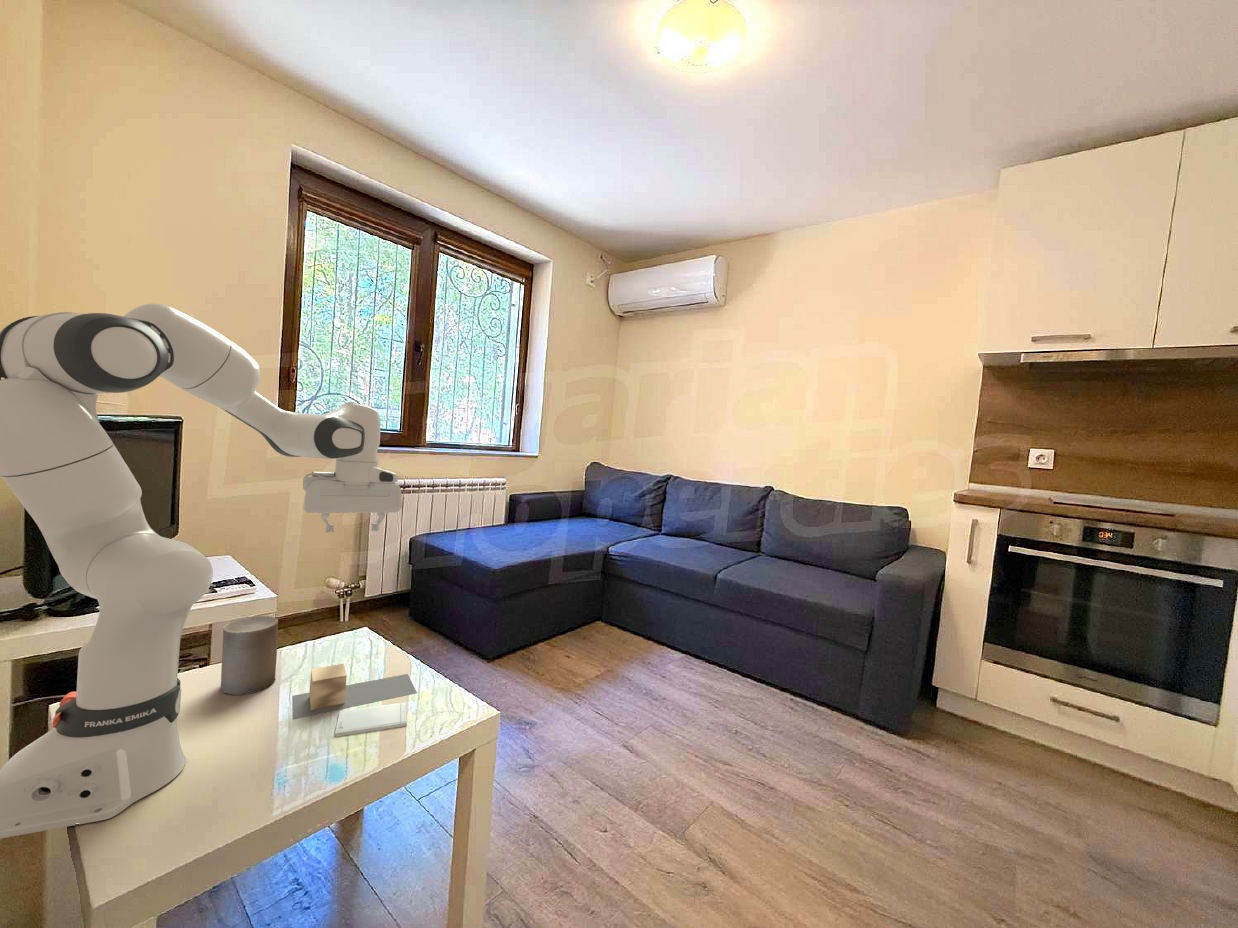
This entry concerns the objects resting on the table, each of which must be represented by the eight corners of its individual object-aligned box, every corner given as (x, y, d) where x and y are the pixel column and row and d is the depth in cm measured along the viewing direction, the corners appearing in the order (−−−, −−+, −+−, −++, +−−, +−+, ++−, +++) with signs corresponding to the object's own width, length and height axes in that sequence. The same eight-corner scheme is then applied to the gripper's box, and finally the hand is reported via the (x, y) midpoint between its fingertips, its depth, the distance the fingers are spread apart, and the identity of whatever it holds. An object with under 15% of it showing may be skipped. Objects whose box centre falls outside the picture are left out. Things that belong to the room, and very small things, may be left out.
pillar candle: (276, 670, 111) (279, 607, 111) (274, 689, 103) (277, 621, 103) (223, 679, 106) (226, 613, 106) (216, 700, 98) (219, 628, 97)
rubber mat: (292, 720, 93) (292, 719, 93) (292, 696, 101) (292, 695, 101) (416, 693, 106) (417, 692, 106) (407, 674, 114) (407, 673, 114)
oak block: (346, 675, 100) (344, 703, 100) (343, 663, 104) (341, 690, 105) (312, 681, 96) (310, 710, 96) (311, 668, 101) (309, 696, 101)
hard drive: (334, 733, 89) (406, 721, 94) (339, 709, 96) (406, 700, 101) (333, 741, 89) (406, 729, 94) (339, 717, 96) (406, 707, 101)
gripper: (304, 472, 103) (300, 535, 103) (405, 475, 115) (401, 532, 115) (303, 470, 108) (299, 530, 108) (400, 473, 120) (396, 527, 120)
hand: (352, 531), depth 112 cm, fingers open, 8 cm apart
